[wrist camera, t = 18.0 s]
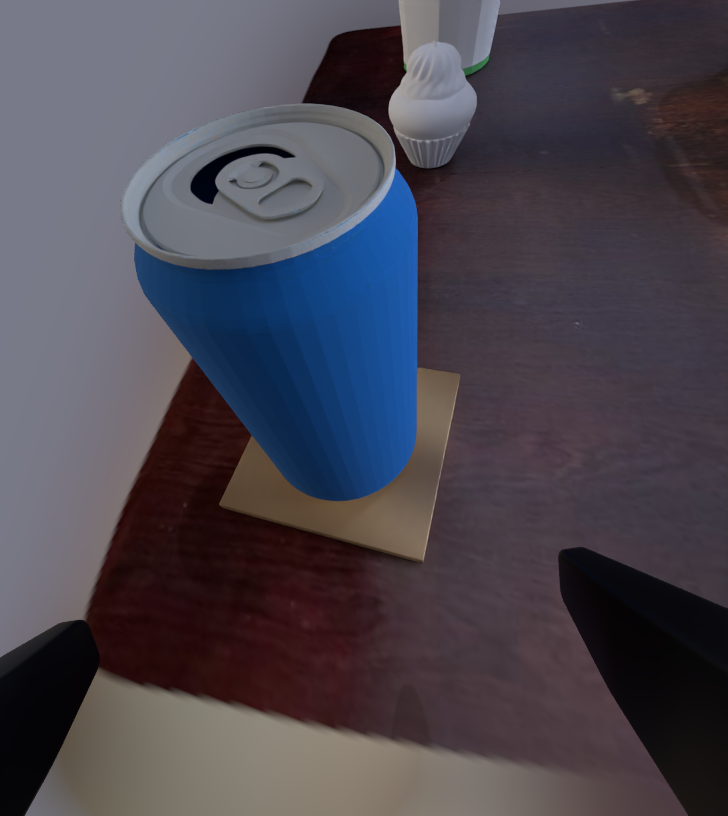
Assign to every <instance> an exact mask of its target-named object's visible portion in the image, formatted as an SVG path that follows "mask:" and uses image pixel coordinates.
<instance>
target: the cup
mask: <svg viewBox="0 0 728 816" xmlns="http://www.w3.org/2000/svg"><path fill="white" fill-rule="evenodd" d="M500 2H501V0H399V10H400V20H401V30H402V39H403V49H404V69H405V70H406V71H407V69H406V64H407V61H408V59H409V58H410V56H411V54H412V53H413V51H414V50H416V49H417V48H419V47H420V46H422V45H425V44H427V43H432V42H433V41H436V42H441V43H443V42H444V43H447V44H450V45H452V46H454V47H455V49H456V50H457V51H458V53H459V55H460V57H461V69H462V70H463V72H464V74H465V76H466V75H470V74H472V73H474V72H476V71H478V70H479V69H481V68H482V67H483V66H484V65H485V64H486V63H487V62H488V60H489V54H490V50H491V45H492V40H493V35H494V31H495V26H496V21H497V16H498V12H499V7H500Z"/></svg>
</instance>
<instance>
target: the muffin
mask: <svg viewBox="0 0 728 816" xmlns="http://www.w3.org/2000/svg"><path fill="white" fill-rule="evenodd" d="M406 69H407V73H406V75H405V76H404V77H403V79H402V81H401V85H400V86H399V87H398V88H397V89H396V90H395V92H394V93H393V95H392V97H391V99H390V103H389V117H390V120H391V122H392V124H393V125H394V127H393V128H394V132H395V134H396V136H397V138H398V139H399V141H400V143H401V145H402V147H403V149H404V151H405V153H406V154H407V156H408V158H409V160H410V162H411V163H412V164H413V165H416V166H417V167H420V168H428V169H429V168H435V167H438V166H442V165H445V163H448V161H450V159H451V158H452V156H453V154H454V152H455V151H456V149H457V147H458V145H459V144H460V142H461V140H462V139H463V137H464V135H465V133H466V131H467V130H468V128H469V126H470V123H471V122H470V120H471V119H472V117H473V115H474V113H475V110H476V106H477V96H476V93H475V91H474V89H473V88H472V86H471V85H470V84H469V83H468V82H467V80H466V78H465V74H464V72H463V70H462V69H461V57H460V55H459V53H458V51H457V50H456V49H455V47H454V46H452V45H450V44H447V43H444V42H443V43H441V42H436V41H433V42H432V43H427V44H425V45H422V46H420V47H419V48H417V49H416V50H414V51H413V53H412V54H411V56H410V58H409V59H408V61H407V64H406Z"/></svg>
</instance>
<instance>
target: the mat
mask: <svg viewBox="0 0 728 816" xmlns="http://www.w3.org/2000/svg"><path fill="white" fill-rule="evenodd" d="M459 381H460V374H456V373H450V372H443V371H437V370H431V369H424V368H418V367H417V434H416V442H415V447H414V449H413V452H412V455H411V457H410V459H409V461H408V463H407V464H406V466H405V467H404V469H403V470H402V471H401V473H400V474H399V475H398V476H397V477H396V478H395V479H394V480H393V481H392V482H390V483H389V484H388V485H387V486H385V487H384V488H382V489H380V490H379V491H377V492H375V493H373V494H371V495H369V496H366V497H362V498H359V499H355V500H349V501H327V500H322V499H317V498H314V497H311V496H309V495H306V494H305V493H303V492H301V491H299V490H298V489H296V488H295V487H293V486H292V485H291V484H290V483H289V482H288V481H287V480H286V479H285V478H284V477H283V475H282V474H281V473H280V471H279V470H278V469H277V467H276V466H275V465H274V463H273V462H272V461H271V460H270V458H269V457H268V456H267V454H266V453H265V452H264V450H263V449H262V448H261V446H260V445H259V444H258V443H257V441H256V440H255V439H254V437H253V436H251V438H250V441H249V443H248V445H247V447H246V449H245V451H244V453H243V455H242V457H241V460H240V462H239V464H238V466H237V468H236V470H235V472H234V474H233V476H232V479H231V481H230V483H229V485H228V487H227V489H226V491H225V493H224V495H223V498H222V500H221V502H220V504H219V505H220V506H221V507H223V508H224V509H228V510H232V511H235V512H239V513H242V514H246V515H250V516H253V517H257V518H261V519H264V520H268V521H271V522H275V523H279V524H282V525H286V526H289V527H293V528H297V529H300V530H304V531H308V532H311V533H315V534H318V535H322V536H326V537H329V538H333V539H337V540H340V541H344V542H347V543H351V544H355V545H358V546H362V547H365V548H369V549H373V550H376V551H380V552H384V553H387V554H391V555H394V556H398V557H402V558H405V559H409V560H412V561H416V562H420V563H423V562H424V557H425V552H426V547H427V542H428V537H429V532H430V527H431V522H432V517H433V512H434V507H435V501H436V496H437V491H438V486H439V481H440V476H441V471H442V466H443V461H444V456H445V451H446V446H447V441H448V436H449V431H450V426H451V421H452V416H453V411H454V406H455V401H456V396H457V391H458V386H459Z"/></svg>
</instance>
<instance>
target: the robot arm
mask: <svg viewBox="0 0 728 816" xmlns="http://www.w3.org/2000/svg"><path fill="white" fill-rule="evenodd" d="M558 562H559V578H560V591H561V595H562V598H563V601H564V603H565V605H566V607H567V609H568V611H569V613H570V615H571V617H572V619H573V621H574V623H575V625H576V627H577V629H578V631H579V633H580V635H581V637H582V639H583V641H584V642H585V644H586V646H587V648H588V650H589V652H590V654H591V656H592V658H593V660H594V662H595V664H596V666H597V668H598V670H599V672H600V674H601V676H602V677H603V679H604V681H605V683H606V685H607V687H608V689H609V690H610V692H611V694H612V695H613V697H614V699H615V700H616V702H617V704H618V705H619V707H620V708H621V710H622V712H623V713H624V715H625V716H626V718H627V720H628V721H629V723H630V724H631V726H632V727H633V729H634V731H635V732H636V734H637V735H638V737H639V738H640V740H641V742H642V743H643V745H644V746H645V748H646V749H647V751H648V753H649V754H650V756H651V757H652V759H653V760H654V762H655V764H656V765H657V767H658V768H659V770H660V772H661V773H662V775H663V776H664V778H665V779H666V781H667V783H668V784H669V786H670V787H671V789H672V790H673V792H674V794H675V795H676V797H677V798H678V800H679V801H680V803H681V805H682V806H683V808H684V809H685V811H686V812H687V814H688V816H728V608H725V607H723V606H720V605H718V604H716V603H713V602H711V601H709V600H706V599H704V598H702V597H699V596H697V595H695V594H692V593H690V592H688V591H685V590H683V589H681V588H678V587H676V586H674V585H671V584H669V583H666V582H664V581H662V580H659V579H657V578H655V577H652V576H650V575H648V574H645V573H643V572H641V571H638V570H636V569H634V568H631V567H629V566H627V565H624V564H622V563H620V562H617V561H615V560H612V559H610V558H608V557H605V556H603V555H601V554H598V553H596V552H594V551H591V550H589V549H587V548H584V547H576V548H570V549H563V550H561V551H560V552H559V556H558ZM99 661H100V655H99V651H98V649H97V646H96V643H95V641H94V638H93V635H92V633H91V630H90V627H89V625H88V623H86V622H85V621H84V620H75V621H68V622H62V623H59V624H57V625H55V626H54V627H52V628H50V629H48V630H47V631H45V632H43V633H41V634H40V635H38V636H36V637H35V638H33V639H31V640H29V641H28V642H26V643H25V644H22V645H21V646H19V647H17V648H16V649H14V650H12V651H11V652H9V653H7V654H5V655H4V656H2V657H1V658H0V816H25V814H26V812H27V810H28V809H29V807H30V805H31V803H32V801H33V800H34V798H35V796H36V794H37V792H38V791H39V789H40V787H41V785H42V783H43V782H44V780H45V778H46V776H47V774H48V772H49V770H50V769H51V767H52V765H53V763H54V761H55V758H56V757H57V754H58V752H59V751H60V748H61V747H62V744H63V742H64V740H65V738H66V736H67V734H68V731H69V729H70V727H71V725H72V723H73V721H74V719H75V717H76V715H77V712H78V710H79V708H80V706H81V704H82V702H83V699H84V698H85V695H86V693H87V691H88V689H89V687H90V685H91V682H92V680H93V678H94V676H95V674H96V672H97V669H98V666H99Z"/></svg>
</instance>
